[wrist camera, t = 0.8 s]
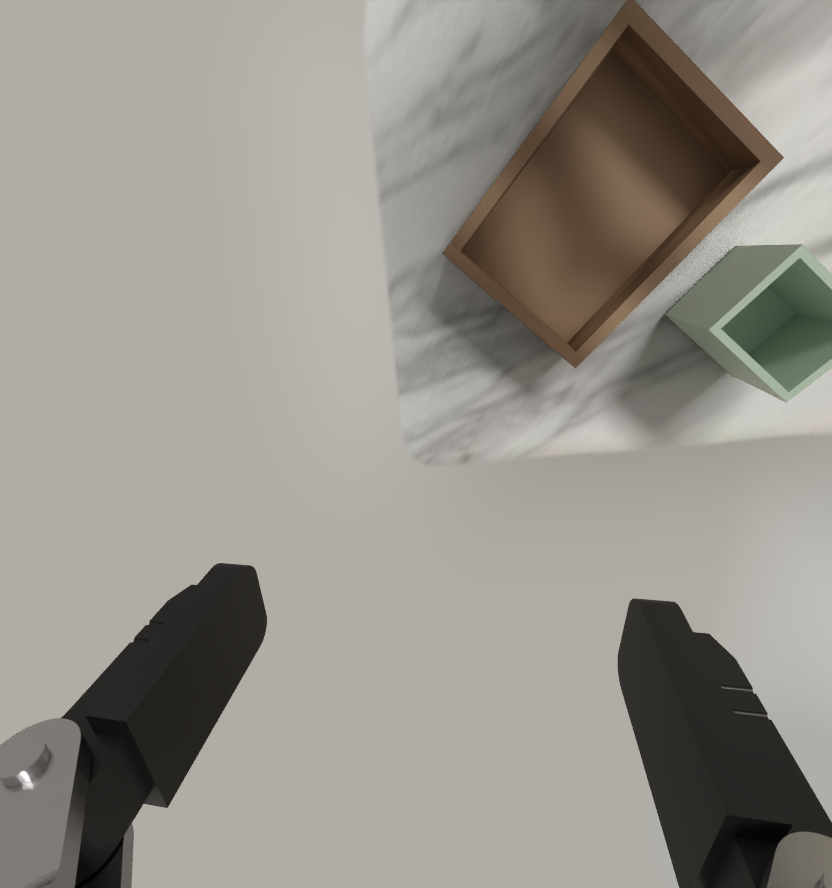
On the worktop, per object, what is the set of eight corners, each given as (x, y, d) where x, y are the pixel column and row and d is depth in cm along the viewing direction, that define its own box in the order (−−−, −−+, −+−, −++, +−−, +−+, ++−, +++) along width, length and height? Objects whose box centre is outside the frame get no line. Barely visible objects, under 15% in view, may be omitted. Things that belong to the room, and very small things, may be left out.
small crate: (735, 246, 26) (802, 244, 20) (802, 311, 27) (884, 327, 21) (664, 314, 28) (708, 329, 22) (729, 373, 29) (786, 402, 23)
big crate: (609, 31, 23) (630, -5, 20) (744, 169, 24) (784, 157, 21) (447, 253, 28) (442, 253, 25) (565, 355, 30) (575, 368, 26)
